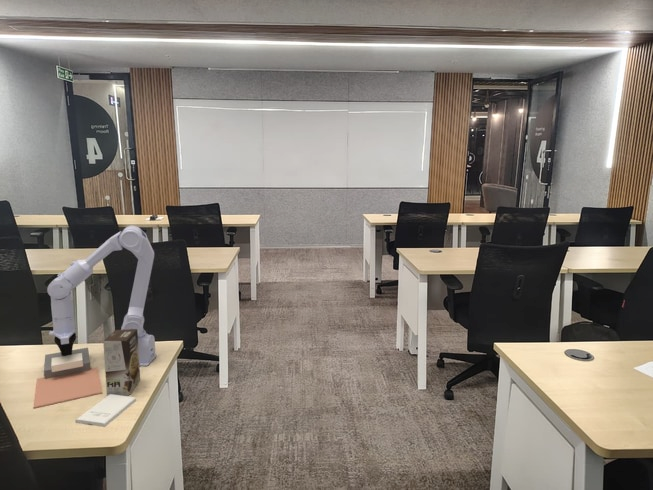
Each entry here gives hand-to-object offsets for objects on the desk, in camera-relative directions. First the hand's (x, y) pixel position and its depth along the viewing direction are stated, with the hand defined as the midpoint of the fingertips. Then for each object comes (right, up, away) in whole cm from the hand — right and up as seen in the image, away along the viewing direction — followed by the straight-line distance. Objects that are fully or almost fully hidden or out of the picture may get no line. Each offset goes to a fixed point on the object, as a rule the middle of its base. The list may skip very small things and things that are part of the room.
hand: (67, 358), depth 135 cm
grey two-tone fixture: (-1, -3, +2) cm, 4 cm away
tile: (+2, -1, -3) cm, 4 cm away
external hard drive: (+24, -9, -22) cm, 33 cm away
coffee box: (+23, -6, -10) cm, 25 cm away
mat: (+6, -6, -10) cm, 13 cm away
